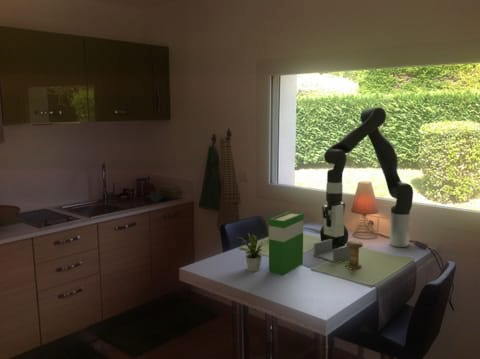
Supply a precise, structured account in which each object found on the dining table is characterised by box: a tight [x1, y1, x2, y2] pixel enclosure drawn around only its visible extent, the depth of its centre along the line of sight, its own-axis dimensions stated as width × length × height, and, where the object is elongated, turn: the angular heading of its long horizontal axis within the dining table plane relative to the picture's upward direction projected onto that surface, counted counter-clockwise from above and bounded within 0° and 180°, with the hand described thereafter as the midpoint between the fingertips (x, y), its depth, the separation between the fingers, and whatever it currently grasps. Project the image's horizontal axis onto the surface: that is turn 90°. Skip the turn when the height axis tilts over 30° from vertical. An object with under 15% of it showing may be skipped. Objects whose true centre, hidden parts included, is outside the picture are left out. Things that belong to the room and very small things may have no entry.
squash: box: [319, 224, 349, 247], centre depth 226 cm, size 14×15×15 cm
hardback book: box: [268, 210, 304, 277], centre depth 192 cm, size 18×7×24 cm, turn 144°
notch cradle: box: [313, 239, 350, 264], centre depth 208 cm, size 12×14×6 cm
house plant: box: [238, 233, 266, 272], centre depth 192 cm, size 14×14×16 cm
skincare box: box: [322, 203, 345, 237], centre depth 206 cm, size 8×6×15 cm
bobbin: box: [345, 240, 364, 270], centre depth 194 cm, size 7×7×11 cm
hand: (333, 225), depth 206 cm, fingers closed on skincare box, 6 cm apart
